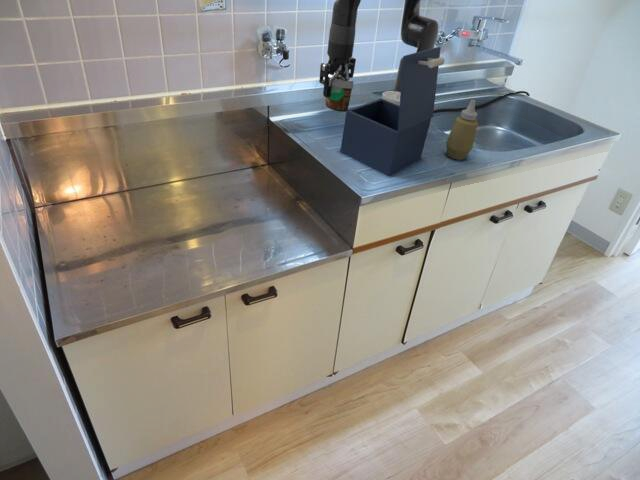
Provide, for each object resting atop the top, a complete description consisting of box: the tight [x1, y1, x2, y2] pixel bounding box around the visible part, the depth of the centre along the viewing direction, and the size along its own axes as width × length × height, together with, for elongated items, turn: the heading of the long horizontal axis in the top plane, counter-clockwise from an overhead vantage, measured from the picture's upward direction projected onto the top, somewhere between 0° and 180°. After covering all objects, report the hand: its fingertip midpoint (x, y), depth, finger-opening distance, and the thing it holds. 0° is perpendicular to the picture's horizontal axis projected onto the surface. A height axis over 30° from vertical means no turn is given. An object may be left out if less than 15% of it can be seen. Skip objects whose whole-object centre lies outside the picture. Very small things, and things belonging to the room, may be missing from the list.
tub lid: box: [398, 46, 445, 132], centre depth 123 cm, size 19×17×5 cm
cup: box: [380, 90, 401, 106], centre depth 154 cm, size 9×9×12 cm
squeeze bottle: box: [445, 99, 479, 161], centre depth 142 cm, size 8×8×18 cm
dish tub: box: [339, 98, 432, 176], centre depth 138 cm, size 18×17×13 cm
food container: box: [325, 72, 354, 113], centre depth 147 cm, size 12×6×10 cm, turn 24°
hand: (334, 94), depth 147 cm, fingers closed on food container, 7 cm apart
